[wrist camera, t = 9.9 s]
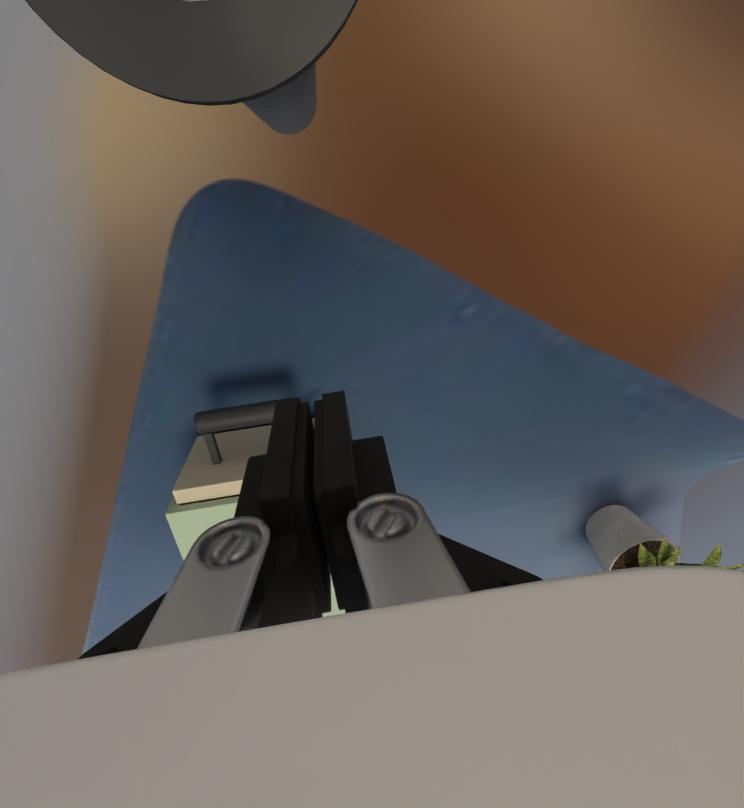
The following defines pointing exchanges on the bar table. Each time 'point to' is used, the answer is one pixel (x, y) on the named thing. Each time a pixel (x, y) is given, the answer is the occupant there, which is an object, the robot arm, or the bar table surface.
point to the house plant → (634, 542)
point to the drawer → (223, 451)
